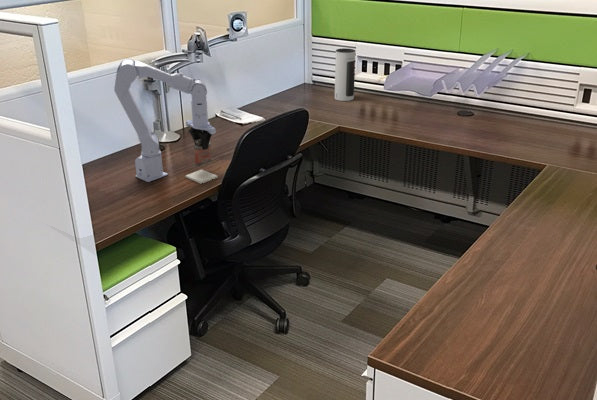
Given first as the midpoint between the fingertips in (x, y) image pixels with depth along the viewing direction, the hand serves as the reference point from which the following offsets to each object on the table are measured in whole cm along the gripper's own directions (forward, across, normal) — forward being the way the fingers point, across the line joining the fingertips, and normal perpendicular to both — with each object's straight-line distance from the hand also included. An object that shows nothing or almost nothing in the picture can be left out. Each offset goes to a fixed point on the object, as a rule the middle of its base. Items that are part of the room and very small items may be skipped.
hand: (201, 147), depth 237 cm
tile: (+10, -4, +4) cm, 11 cm away
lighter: (+6, 0, 0) cm, 7 cm away
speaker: (+10, +20, -116) cm, 118 cm away
